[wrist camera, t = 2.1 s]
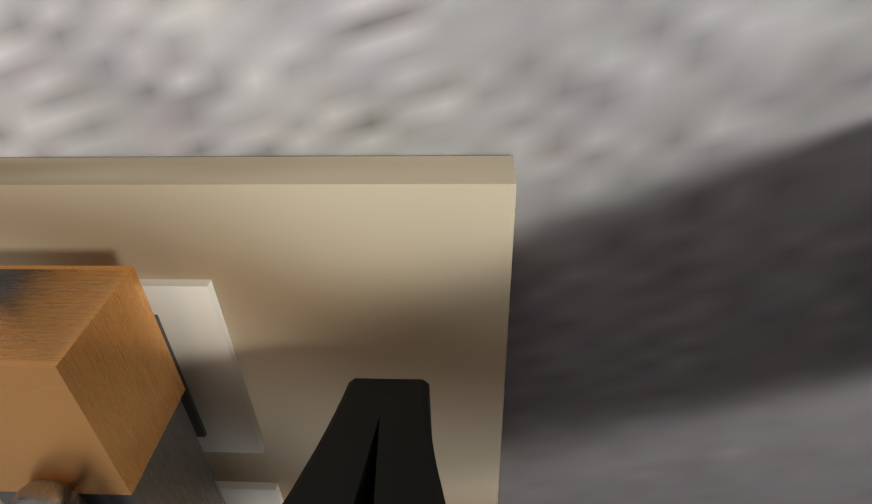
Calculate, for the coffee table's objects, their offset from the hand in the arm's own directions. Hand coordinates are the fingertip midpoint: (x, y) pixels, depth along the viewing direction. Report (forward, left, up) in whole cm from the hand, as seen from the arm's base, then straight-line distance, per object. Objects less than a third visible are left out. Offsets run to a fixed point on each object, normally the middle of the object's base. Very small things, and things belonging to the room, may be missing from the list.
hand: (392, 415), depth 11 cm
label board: (-5, +6, -2) cm, 8 cm away
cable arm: (-5, +5, -1) cm, 8 cm away
